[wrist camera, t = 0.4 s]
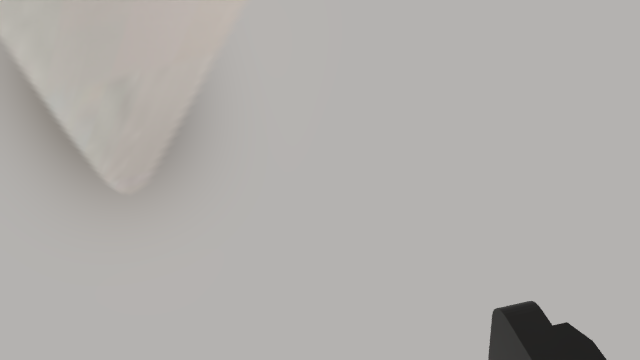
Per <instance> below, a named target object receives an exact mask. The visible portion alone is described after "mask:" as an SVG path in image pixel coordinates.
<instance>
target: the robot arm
mask: <svg viewBox="0 0 640 360" xmlns="http://www.w3.org/2000/svg"><path fill="white" fill-rule="evenodd" d="M489 360H606V358H605V357H604V356H603V354H602V353H601V352H600V350H599V349H598V347H597V346H596V345H595V343H594V342H593V341H592V340H590V339H589V338H588V337H586V336H585V335H584V334H582V333H581V332H580V331H578V330H577V329H575V328H574V327H573V326H571V325H570V324H569V323H562V324H558V325H553V326H552V324H551V323H550V321H549V320H548V318H547V317H546V316H545V314H544V313H543V311H542V310H541V309H540V307H539V306H538V305H537V304H536V303H535V302H533V301H528V302H524V303H519V304H515V305H510V306H506V307H501V308H497V309H495V310H494V311H493V315H492V325H491V336H490V346H489Z"/></svg>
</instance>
